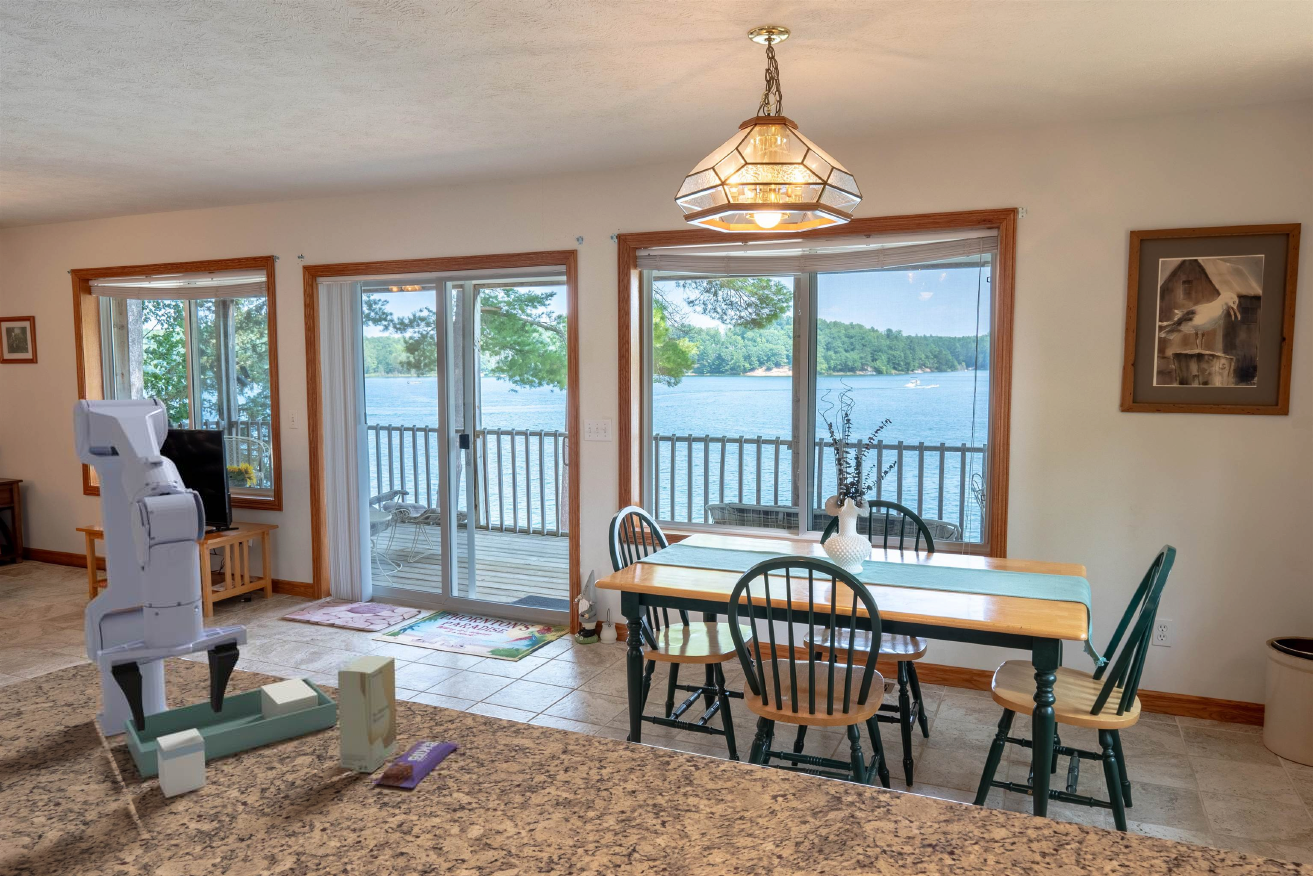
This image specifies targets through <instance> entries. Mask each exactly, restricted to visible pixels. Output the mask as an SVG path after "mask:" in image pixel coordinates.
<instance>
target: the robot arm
mask: <svg viewBox="0 0 1313 876" xmlns="http://www.w3.org/2000/svg"><path fill="white" fill-rule="evenodd" d="M167 412H168V410H167V408H166V405H165V403H164V401H163V400H162V399H160V398H159V397H157V396H156V397H152V398H134V399H133V398H129V399H126V398H125V399H96V400H94V399H93V400H92V399H90V400H89V399H87V400H86V399H78V401H77V402H76V403H75V404H74V405H73V411H72V414H73V415H72V419H73V420H72V422H73V433H74V445H75V454H76V456H77V457H78V458H77V459H78V462H79V463H81V464H86V465H89V466H91V467H92V466H93V468H94V471H95V474H96V476H97V479H98V483H99V496H100V508H101V509H100V510H101V520H102V531H103V532H102V534H103V543H104V544H103V545H104V556H105V569H106V581H107V586H106V588H105V589H103V591H101V592H100V593H99V594H98V595H97V596H95V597H94V598H93V599H92V600H91V601H89V603H87V605H86V608H85V609H84V629H83V631H84V644H85V650H86V655H87V658H88V660H89V661H91V662H92V663H93V664H97V668H98V672H99V673H100V676H101V677H100V678H101V679H100V680H101V694H102V696H101V697H102V709H103V710H102V711H99V712H97V713H95V718H96V719H97V722H98V725H99V727H100V730H101V732H102V734H103V737H104V738H106V737H109V736H114V735H118V734H124V733H126V731H125V720H127V719H132V718H134V724H135V727H136V729H137V731H143V730H145V718H144V716H145V715H149V714H153V713H157V712H162V711H166V710H170V709H169V707H168V706H167V705H166V704H167V703H166V685H165V668H164V667H165V666H164V665H165V664H164V660H165V659H170V658H175V657H181V656H186V655H191V654H195V653H200V652H201V653H202V652H205V651H207V653H206V654H207V658H208V659H207V660H208V668H209V677H210V678H209V680H210V687H209V690H210V691H209V693H210V694H209V696H210V697H209V699H210V702H211V708H212V709H213V711H214V712H215V713H217V712H221V711H222V704H223V698H224V697H225V694H226V690H227V686H228V683H229V681H230V677H231V675H232V672H233V671H234V669H235V667H236V664H237V662H238V661H239V658H240V649H239V648H238V646H240V647H241V646H245V645H248V635H247V634H248V633H247V628H246V627H245V626H244V625H243V624H238V625H233V626H231V625H230V626H224V627H214V628H206V629H205V628H204V622H203V621H204V620H203V618H204V617H203V600H202V596H203V595H202V582H201V561H200V545H199V543H201V542H203V540H204V537H205V533H206V514H205V508H204V503H203V500H202V498H201V496H200V494H199V492H198V491H197V490H193V489H192V488H186V486H185V484H184V482H183V480H182V477H181V475H180V473H179V470H178V469H177V466H176V464H175V463H174V461H172V460H171V459H170V458H168V457H167V456H164V455H161V452H160V450H161V449H162V448H163V445H164V443H165V440H166V439H167V436H168V431H169V420H168V413H167ZM197 541H198V542H199V543H198V542H197ZM136 607H139V608H136ZM130 608H131V609H130ZM125 609H127V610H125ZM119 610H120V611H119ZM113 611H116V612H113Z"/></svg>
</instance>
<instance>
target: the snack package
mask: <svg viewBox="0 0 1313 876" xmlns="http://www.w3.org/2000/svg"><path fill="white" fill-rule="evenodd" d="M459 745H460V743H456V742H455V743H454V742H444V741H443V742H438V741H437V742H436V741H429V740H420V741H419V742H417V743H415V745H413V746H411V748H409V750H407V751H406V752H405V753H403V754H402V756H400V757H399V758H398V759H397V760H395V761H394V762H393V763H392V764H391V765H389V767H388V768H387V769H386V770H385V771H384V772H383V774H382V775H381V776H380V777H378V779H377V780H376V781H374V784H377V785H384V786H385V785H387V786H394V787H399V788H400V787H402V788H410V789H413V788H414V787H416V786H417V785H418V784H419V783H420V782H421V781H422V780H423V779H424V778H425V777H427V775H429V774H430V773H431V772H432V771H433V770H434V769H435V768H436V767H437V766H438V765H439V764H441V763H442V762H443V760H445V759H446V758H447V757H448V756H449V755H450V754H451V753H452V752H453V751H454V750H455V749H456V748H458V747H459Z"/></svg>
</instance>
